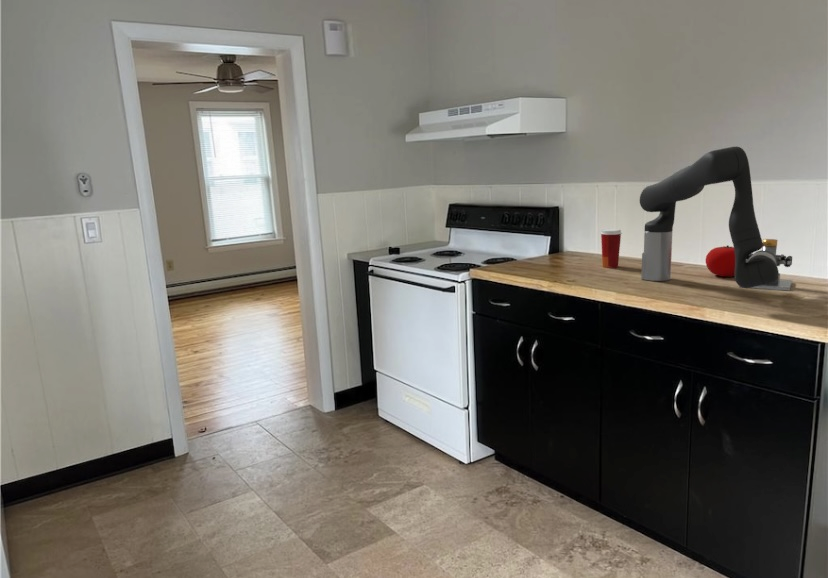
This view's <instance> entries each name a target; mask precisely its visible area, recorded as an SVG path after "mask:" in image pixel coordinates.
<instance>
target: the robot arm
mask: <svg viewBox="0 0 828 578" xmlns="http://www.w3.org/2000/svg"><path fill="white" fill-rule="evenodd" d="M750 169H751V168H750V162H749V159H748V155H747V153H746V151H745V150H744V149H743V148H742V147H740V146H731V147H725V148H720V149H715V150H711V151H709V152H707V153H705V154H703V155H702V156H701V157H699V159H697V160H696V161H694V163H692V164H690V165H688V166H685V167H684V168H681V169H680V170H678V171H676V172H674V173H673V174H672V175H669V176H667V177H666V178H664V179H663V180H661V181H659V182H657V183H654V184H650V185H648V186H646V187H644V188H643V190H642V191H641V193H640V196H639V206H640V207H641V208H642V211H643V210H644V211H645V212H648V213H659V214H658V216H657V217H656V218H654V219H652V220H649V221H647V222H646V223H645V224H644V234H643V235H644V236H643V241H644V242H643V252H642V253H641V277H640V278H641V280H645V281H652V282H653V281H654V282H665V281H670V280H671V278H672V276H671V275H672V272H671V271H672V252H673V251H672V249H673V229H674V228H673V227H674V224H675V216H676V205H677V202H682V201H685V200H688V199H690V198H694V197H695V196H697V195H698V194H700V193H701V192H703V190H704V187H705V186H708V185H716V184H720V183H725V182H731V181H732V184H733V187H734V200H733V203H732V204H733V205H732V208H731V211H730V214H729V218H728V230H729V234H730V238H731V242H732V245H733V246H732V247H734V251H735V276H734V280H735V282H736V285H737V286H738V287H739V286H740V287H739V288H742V289H752V288H751V287H756V286H760V285H765V284H769V283H773V282H775V281H776V280H777V279H778V275H779V273H780V272H779V268H778V267H780V266H781V265H783V266H784V267H786V268H789V267H790V268H791V266H792V264H793V256H792V255H788V256H786V255H785V254H781V255H780V254H776V255H774V254H773V253H772V252H770V251H766V250H762V247H763V239H762V236H761V232H760V229H759V226H758V225H759V224H758V222H757V218H756V217H757V216H756V214H755V213H756V212H755V207H754V198H753V188H752V186H753V185H752V178H751V171H750Z"/></svg>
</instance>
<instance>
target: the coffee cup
mask: <svg viewBox="0 0 828 578" xmlns="http://www.w3.org/2000/svg"><path fill="white" fill-rule="evenodd" d="M599 234H600V239H601V242H600V243H601V262H602V268H607V269H612V268H613V269H614V268H615V269H616V268H618V267H619V261H620V249H621V248H620V247H621V239H622V237H621V236H622V231H621V229H617V228H608V229H602V230H601V232H600V233H599Z"/></svg>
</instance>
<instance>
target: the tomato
mask: <svg viewBox="0 0 828 578" xmlns="http://www.w3.org/2000/svg"><path fill="white" fill-rule="evenodd" d="M705 265H706V267H707V269H708V270H709V272H711V273H712V274H713V275H715V276H718V277H723V278H724V277H730V278H731V277H735V251H734V246H729V245H726V246H717V247H714V248H712V249H711V250H709V251H708V253H707V255H706V256H705Z"/></svg>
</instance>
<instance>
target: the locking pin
mask: <svg viewBox="0 0 828 578" xmlns="http://www.w3.org/2000/svg"><path fill="white" fill-rule="evenodd" d="M762 243H763V247H762V248H761V250H766V251H770V252H772V253H773V254H774V255H777V247H778V239H777V238H776V239H774V238H763V239H762Z"/></svg>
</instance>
